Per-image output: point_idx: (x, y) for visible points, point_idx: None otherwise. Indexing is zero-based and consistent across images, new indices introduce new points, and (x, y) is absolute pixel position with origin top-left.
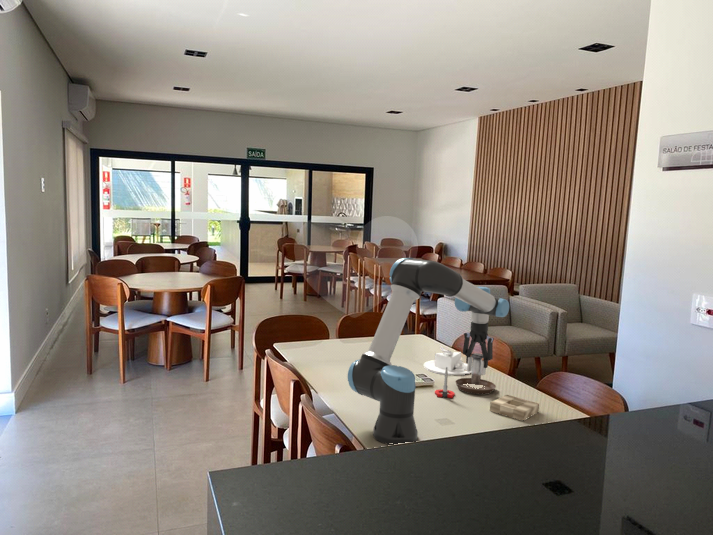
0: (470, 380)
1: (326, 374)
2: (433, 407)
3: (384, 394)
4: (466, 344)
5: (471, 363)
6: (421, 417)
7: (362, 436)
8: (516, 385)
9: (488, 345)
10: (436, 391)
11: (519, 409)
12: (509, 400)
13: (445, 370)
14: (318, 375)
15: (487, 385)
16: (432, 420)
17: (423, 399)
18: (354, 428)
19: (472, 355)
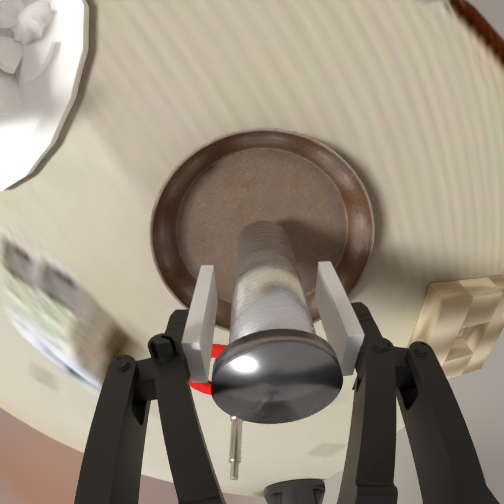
0: (182, 173)
1: (3, 396)
2: (267, 435)
3: None
4: (138, 479)
5: (208, 308)
6: (282, 460)
7: (263, 496)
8: (381, 8)
9: (433, 494)
10: (194, 385)
11: (473, 365)
12: (454, 339)
13: (4, 121)
14: (8, 405)
15: (289, 146)
16: (306, 457)
17: (212, 421)
18: (239, 494)
19: (248, 418)
